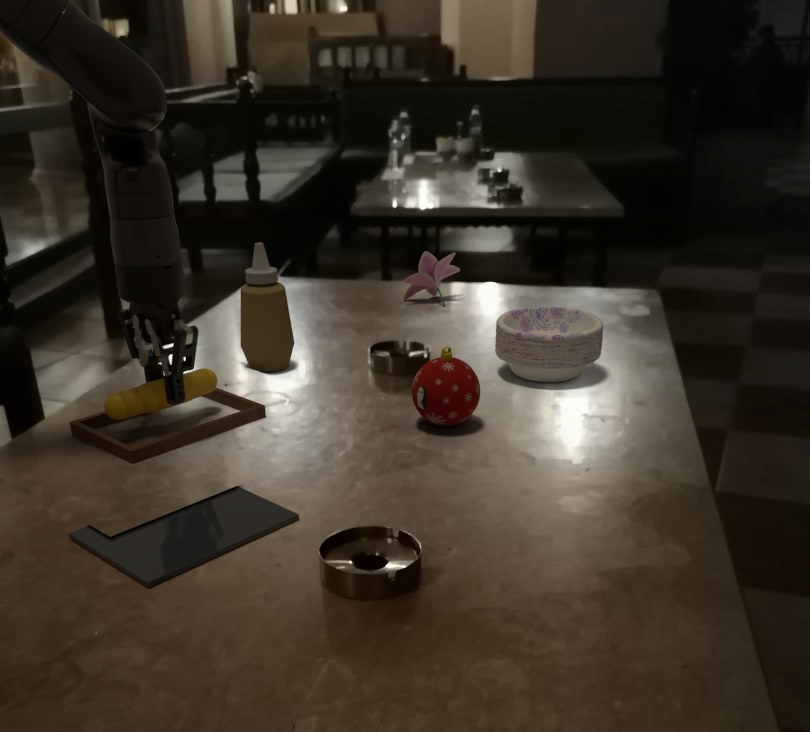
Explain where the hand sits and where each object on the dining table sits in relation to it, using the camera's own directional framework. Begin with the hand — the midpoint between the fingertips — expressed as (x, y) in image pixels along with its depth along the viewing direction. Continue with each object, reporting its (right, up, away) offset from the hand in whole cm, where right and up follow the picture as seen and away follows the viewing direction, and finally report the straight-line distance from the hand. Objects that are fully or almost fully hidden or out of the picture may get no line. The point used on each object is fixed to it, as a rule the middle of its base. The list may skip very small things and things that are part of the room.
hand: (166, 398), depth 112 cm
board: (+7, -16, -20) cm, 27 cm away
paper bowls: (+50, +7, +21) cm, 55 cm away
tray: (0, -4, +2) cm, 5 cm away
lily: (+34, +27, +58) cm, 73 cm away
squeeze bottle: (+9, +9, +25) cm, 28 cm away
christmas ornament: (+35, -3, +4) cm, 35 cm away
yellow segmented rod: (0, -1, 0) cm, 1 cm away
